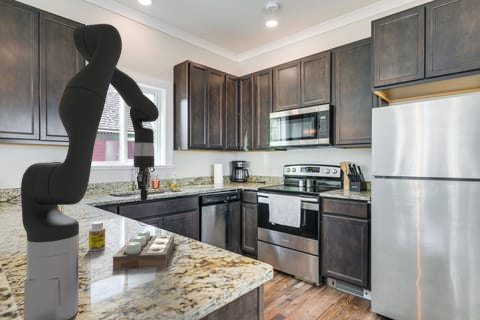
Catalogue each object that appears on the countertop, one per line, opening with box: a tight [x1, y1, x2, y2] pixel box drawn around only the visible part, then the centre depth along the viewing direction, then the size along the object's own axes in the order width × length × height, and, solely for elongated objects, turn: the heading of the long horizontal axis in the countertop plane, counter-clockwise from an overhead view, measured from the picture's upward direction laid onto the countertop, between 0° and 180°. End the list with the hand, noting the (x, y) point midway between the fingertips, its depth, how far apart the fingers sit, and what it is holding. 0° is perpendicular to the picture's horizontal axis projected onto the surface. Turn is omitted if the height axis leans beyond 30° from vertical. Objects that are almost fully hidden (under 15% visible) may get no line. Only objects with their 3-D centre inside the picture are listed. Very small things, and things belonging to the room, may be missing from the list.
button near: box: [125, 242, 141, 255], centre depth 86 cm, size 5×5×4 cm
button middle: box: [131, 235, 146, 247], centre depth 94 cm, size 5×5×4 cm
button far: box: [137, 230, 151, 241], centre depth 101 cm, size 5×5×4 cm
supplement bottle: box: [88, 221, 106, 252], centre depth 101 cm, size 6×6×10 cm
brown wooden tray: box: [112, 234, 175, 271], centre depth 94 cm, size 23×16×4 cm
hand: (144, 199), depth 101 cm, fingers closed
